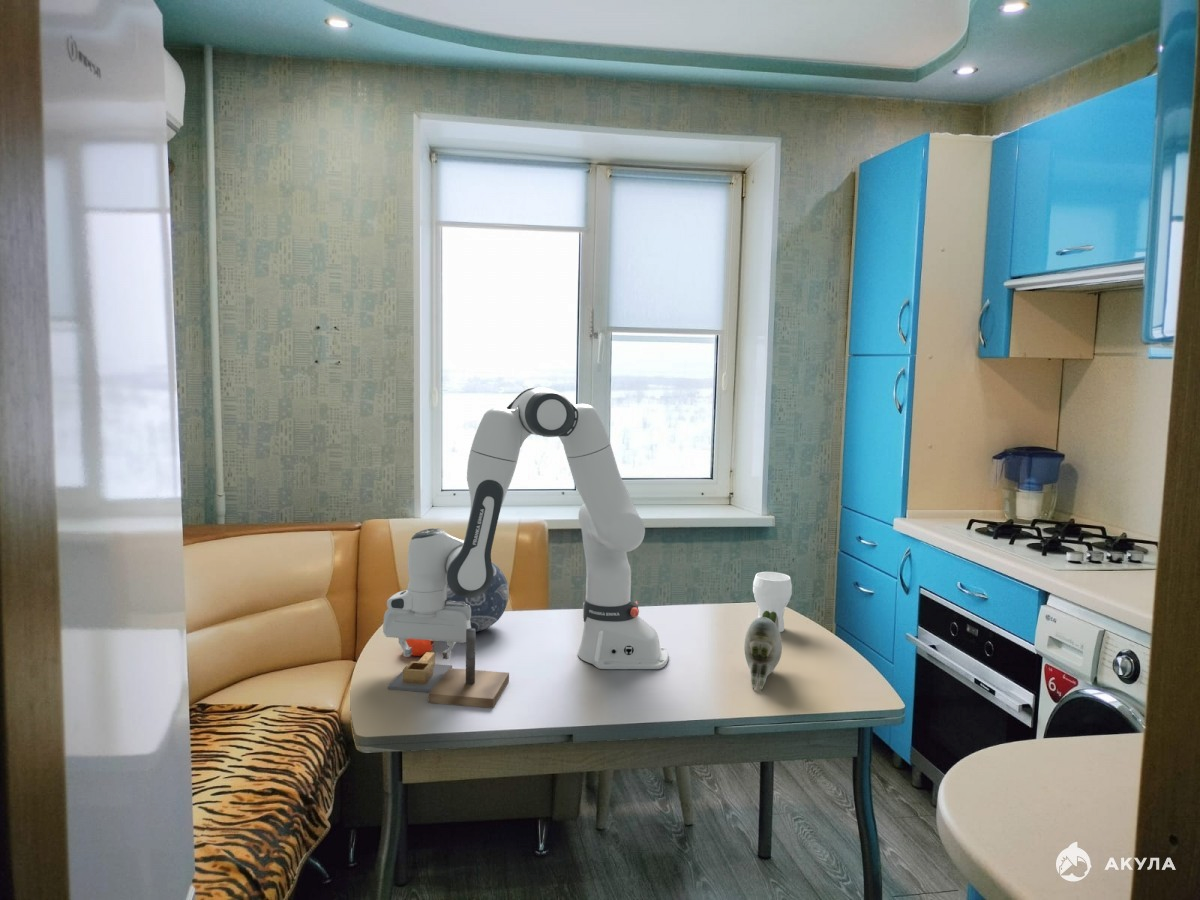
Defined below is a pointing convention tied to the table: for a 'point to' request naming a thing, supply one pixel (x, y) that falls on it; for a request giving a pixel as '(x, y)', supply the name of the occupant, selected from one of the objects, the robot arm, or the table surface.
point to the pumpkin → (420, 646)
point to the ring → (419, 670)
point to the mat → (437, 675)
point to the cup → (772, 594)
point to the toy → (762, 647)
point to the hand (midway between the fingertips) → (427, 657)
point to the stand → (469, 682)
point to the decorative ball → (486, 602)
